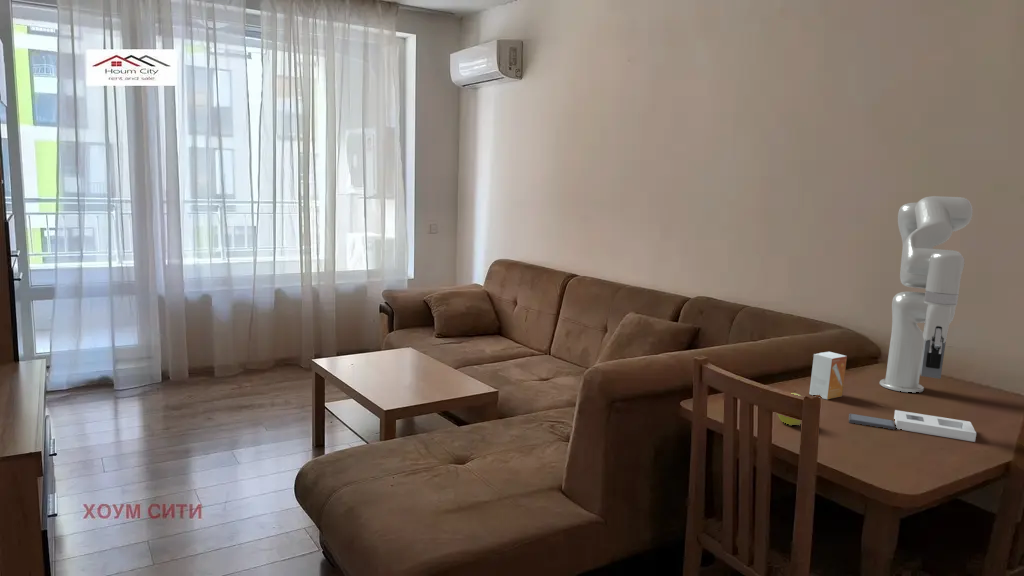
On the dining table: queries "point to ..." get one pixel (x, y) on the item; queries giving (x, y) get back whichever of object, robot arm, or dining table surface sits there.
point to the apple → (789, 420)
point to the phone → (871, 421)
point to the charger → (925, 370)
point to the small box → (828, 375)
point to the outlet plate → (935, 425)
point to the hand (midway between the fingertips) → (931, 365)
